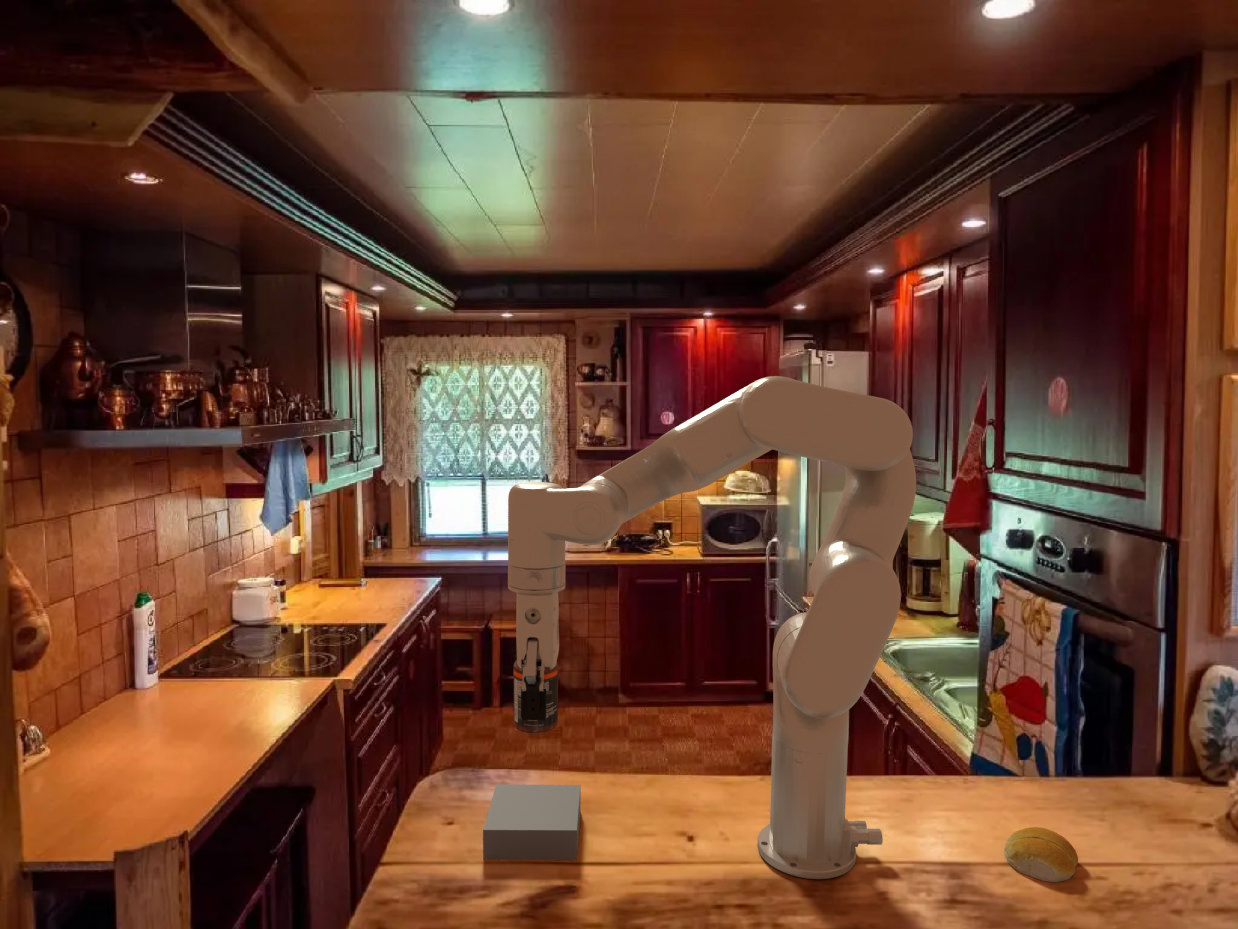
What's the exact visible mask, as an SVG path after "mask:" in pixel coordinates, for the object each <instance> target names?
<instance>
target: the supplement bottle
mask: <svg viewBox="0 0 1238 929" xmlns="http://www.w3.org/2000/svg"><path fill="white" fill-rule="evenodd" d="M538 649H539V641H538ZM541 664H542V662H537V666H541ZM537 675H539V677H540V671H537ZM522 680H523V668H522V669H521V668H520V667H519V666H518V664H517V659H516V660H515V661H514V664H513V709H512V711H513V724H514V727H515V728H516V729H517V730H518V731H520V732H521V733H525V734H530V735H531V734H532V735H537V734H545V733H549V732H550V731H552V730H554V729H555V728H556V727H557V725H558V724H559V664H558V662H556V665H555V667H554V668H553V669H550V667H545V676H544V689H546V718H545V720H522V719H521V689H522Z"/></svg>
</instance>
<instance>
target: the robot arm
mask: <svg viewBox="0 0 1238 929" xmlns="http://www.w3.org/2000/svg"><path fill="white" fill-rule="evenodd" d="M913 430H914V429H913V426H912V422H911V420H910V417H909V416H908V414H907V412H905V410H904V409H903V408H902V407H900V406H899V405H898V404H896V403H895V402H893V401H891V400H890V399H887V398H882V397H877V396H873V395H868V394H864V393H863V394H862V393H857V392H852V391H847V390H843V389H837V388H832V387H828V386H823V385H819V384H814V383H810V382H805V381H802V380H799V379H794V378H791V377H787V376H779V375H774V376H766V377H762V378H760V379H757V380H754V381H753V382H751V383H749V384H748V385H747V386H744V387H743V388H741V389H739V390H738V391H735V392H734V393H732V394H731V395H729V396H727V397H725V398H723V399H722V400H720V401H719V402H717V403H715V404H713V405H712V406H710V407H708V408H706V409H705V410H703V411H701V412H700V413H698V414H696V415H694V416H693V417H691V418H689V419H687V420H685V421H683V422H682V423H680V424H679V425H677V426H675V427H674V428H672V429H671V430H669V431H667V432H666V433H664V434H662V435H661V436H660V437H659V438H657V439H656V440H655V441H654V442H653V443H651V444H650V445H648V446H646V447H645V448H644V449H641V450H639V451H638V452H637V453H635V454H633V455H631V456H630V457H627V458H626V459H624V460H623V461H621V462H619V463H617V464H616V465H614V466H612V467H610V468H609V469H607V470H606V471H603V472H602V473H599V475H596V476H595V477H593V478H591V479H590V480H588V481H586V482H585V483H583V484H582V485H581V486H579V487H574V488H564V487H562V485H560V484H557V483H555V482H554V483H553V482H546V481H545V482H543V481H529V482H528V481H527V482H520V483H517V484H514V485H513V486H512V487H511V488H510V490H509V491H508V496H507V497H508V500H507V506H508V507H507V515H508V516H507V527H508V528H507V588H508V590H509V591H511V592H513V593H516V608H515V609H516V614H515V616H516V617H515V619H516V622H515V623H516V624H515V625H516V626H515V627H516V628H515V629H516V631H515V632H516V635H515V636H516V638H515V640H516V660H517V664H518V666H519V667H520V668H521V669H522V668H523V680H522V689H521V719H522V720H545V718H546V689H544V676H545V667H550V669H553V668H554V667H555V665H556V662H557V660H558V657H559V651H560V632H559V631H560V630H559V629H560V628H559V627H560V622H559V621H560V618H559V617H560V616H559V614H560V612H559V611H560V609H559V608H560V607H559V606H560V605H559V604H560V603H559V592H561V591H563V590H565V589H566V543H567V542H569V543H575V544H579V545H586V546H597V545H601V544H604V543H607V542H609V541H610V540H611V539H613V537H614V536H615V535H616V533H618V530H619V529H620V528H621V526H622V525H623V524H624V523H626V522H628V521H630V520H631V519H633V518H635V517H636V516H638V515H640V514H642V513H644V512H645V511H646V510H649V509H651V508H652V507H654V506H657V505H658V504H660V503H662V502H663V501H665V500H668V499H670V498H672V497H673V498H674V497H675V496H678V495H681V494H684V493H691V492H697V491H699V490H701V489H704V488H706V487H708V486H710V485H712V484H714V483H715V482H717V481H718V480H720V479H722V478H724V477H726V476H728V475H730V474H731V473H733V472H735V471H736V470H739V469H740V468H742V467H744V466H745V465H747V464H749V463H750V462H752V461H754V460H755V459H757V458H759V457H761V456H763V455H765V454H766V453H768V452H770V451H772V450H775V451H777V452H782V453H786V454H789V455H793V456H797V457H800V458H801V457H802V458H804V459H805V458H806V459H809V460H813V461H814V460H815V461H818V462H819V461H820V462H824V463H827V464H828V463H829V464H833V465H838V466H842V467H844V470H845V482H844V487H843V492H842V495H841V497H840V500H839V503H838V505H837V509H836V511H835V514H834V516H833V518H832V520H831V523H830V525H829V527H828V529H827V532H826V534H825V536H824V539H823V541H822V543H821V546H820V547H819V550H817V553H816V555H815V557H814V559H813V561H812V564H811V566H810V570H809V585H810V589H811V592H812V594H813V598H812V600H811V603H810V605H809V608H808V610H807V611H806V612H801V613H797V614H795V615H792V616H791V617H789V618H788V619H786V621H785V622H784V623H782V625H781V626H780V627H779V629H778V631H777V633H776V635H775V638H774V641H773V648H772V677H773V678H772V681H773V686H772V687H773V691H772V692H773V698H772V699H773V703H772V704H773V705H772V706H773V707H772V708H773V709H772V710H773V712H772V714H773V715H772V733H771V734H772V739H771V740H772V742H771V769H770V770H771V773H770V776H771V777H770V778H771V780H770V808H769V809H770V810H769V811H770V813H769V817H770V818H769V824H767V825H766V826H764V827H763V828H762V829H761V830H760V831H759V833H758V837H757V850H758V853H759V855H760V857H762V859H763V860H764V861H765V862H766V863H768V864H769V865H770V866H772V867H773V868H775V869H777V870H778V871H780V872H783V873H785V874H786V875H787V874H788V875H789V876H793V877H797V878H803V879H807V880H808V879H809V880H810V879H811V880H826V879H833V878H837V877H839V876H843V875H845V874H846V873H848V872H850V871H851V869H853V868H854V866H855V864H856V862H857V861H856V860H857V848H858V847H859V845H868V846H869V845H870V846H875V845H876V846H877V845H879V846H882V845H883V842H884V841H883V840H884V839H883V833H882V829H880V828H868V826H867V823H866V822H867V821H865V820H851V821H850V820H849V819H847V818H846V803H847V800H846V798H847V775H848V774H847V773H848V771H847V770H848V747H849V745H848V744H849V730H850V729H849V728H850V725H849V724H850V720H849V719H850V709H851V708H852V707H853V706H854V705H855V704H856V703H858V700H859V699H860V697H861V696H862V695H863V692H864V691H865V689H866V687H867V686H868V684H869V681H870V678H872V675H873V672H874V671H875V669H876V666H877V665H878V662H879V660H880V657H881V655H882V653H883V651H884V649H885V647H886V644H887V642H888V640H889V638H890V635H891V633H892V630H893V628H894V627H895V626H894V625H895V624H896V621H897V618H898V615H899V612H900V607H901V598H902V592H901V585H900V582H899V581H900V580H899V579H898V576H897V574H896V572H895V571H894V569H893V567H892V565H893V561H894V558H895V556H896V554H897V551H898V548H899V545H900V543H901V541H902V538H903V536H904V533H905V530H906V528H907V524H908V522H909V520H910V517H911V514H912V511H913V507H914V504H915V499H916V493H917V492H916V491H917V475H916V468H915V462H914V458H913V454H912V451H911V447H912V444H913V438H914V433H913V432H914V431H913ZM538 641H539V649H538ZM537 662H542V664H541V666H537ZM557 663H558V662H557ZM537 671H540V677H539V675H537Z"/></svg>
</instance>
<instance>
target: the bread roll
mask: <svg viewBox="0 0 1238 929" xmlns="http://www.w3.org/2000/svg"><path fill="white" fill-rule="evenodd" d="M1003 852H1004V857H1005V858H1006V860H1007V863H1009V865H1010V866H1011V867H1012V868H1014V869H1015V870H1016V871H1017V872H1019V873H1021V874H1023V875H1026V876H1028V877H1031V878H1033V879H1036V880H1039V881H1043V882H1048V883H1059V882H1063V881H1068V880H1070V879H1071V877H1072V876H1073V875H1074V874H1075V873H1076V867H1077V865H1078V863H1079V856H1078V853H1077V851H1076V850H1075V848H1074V847H1073V845H1072V844H1071V842H1070V841H1068V839H1067V838H1065V837H1064V836H1063V835H1061V834H1059V833H1058V832H1056V831H1054V830H1051V829H1048V828H1045V827H1039V826H1031V827H1025V828H1022V829H1019V830H1017V831H1015V832H1013V833H1012V834H1011V835H1010V836H1009V837H1008V838H1007V839H1006V842H1005V844H1004V851H1003Z"/></svg>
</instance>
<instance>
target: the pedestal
mask: <svg viewBox="0 0 1238 929" xmlns="http://www.w3.org/2000/svg"><path fill="white" fill-rule="evenodd" d="M581 789H582V788H581V784H510V783H509V784H503V783H502V784H500V783H499V784H495V787H494V792H493V795H492V797H491V801H490V804H489V808H488V812H487V815H486V819H485V822H484V825H483V828H482V860H485V859H487V861H488V860H490V859H493V861H494V860H495V861H497V860H501V861H502V860H503V861H504V860H507V861H509V860H512V861H514V860H515V861H521V860H523V861H524V860H527V861H545V860H546V861H577V859H578V848H579V835H580V822H581V804H582V802H581V793H582V792H581ZM490 861H491V860H490Z"/></svg>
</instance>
